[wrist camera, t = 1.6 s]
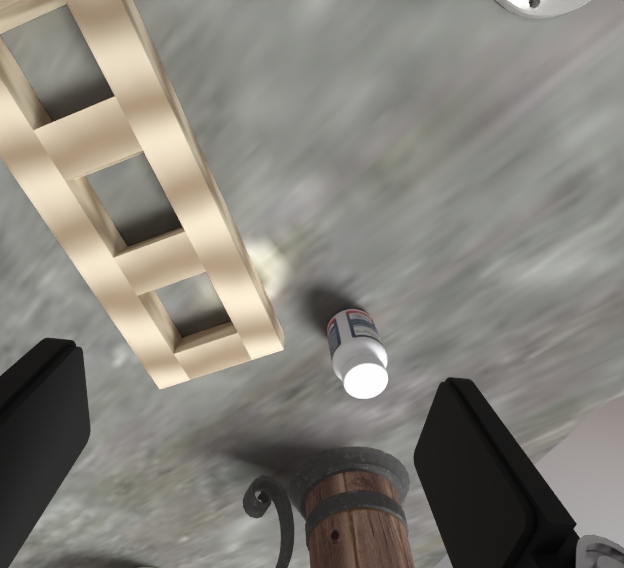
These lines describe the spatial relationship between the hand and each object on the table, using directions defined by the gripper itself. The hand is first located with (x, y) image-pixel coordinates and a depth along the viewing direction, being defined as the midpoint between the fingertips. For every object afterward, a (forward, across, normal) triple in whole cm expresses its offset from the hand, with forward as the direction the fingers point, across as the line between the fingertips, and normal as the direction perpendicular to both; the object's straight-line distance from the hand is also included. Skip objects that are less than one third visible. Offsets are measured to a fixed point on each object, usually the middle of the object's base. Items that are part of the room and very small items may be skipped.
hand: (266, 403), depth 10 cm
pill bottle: (+27, -9, +12) cm, 31 cm away
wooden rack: (+26, +13, +1) cm, 29 cm away
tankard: (+27, -12, +37) cm, 47 cm away
